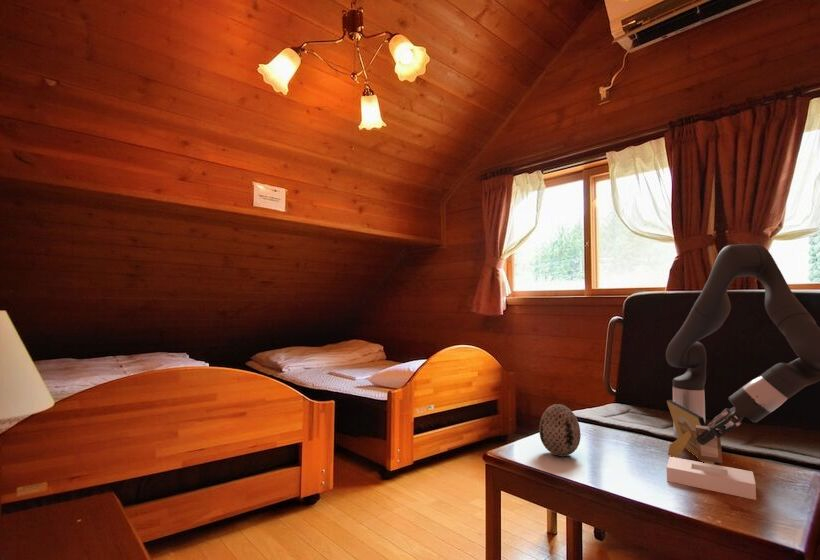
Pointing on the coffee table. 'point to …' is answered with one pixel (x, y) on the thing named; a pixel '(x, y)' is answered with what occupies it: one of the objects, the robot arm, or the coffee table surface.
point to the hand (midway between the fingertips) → (699, 440)
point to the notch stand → (712, 477)
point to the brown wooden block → (709, 447)
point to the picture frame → (685, 430)
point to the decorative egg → (559, 430)
